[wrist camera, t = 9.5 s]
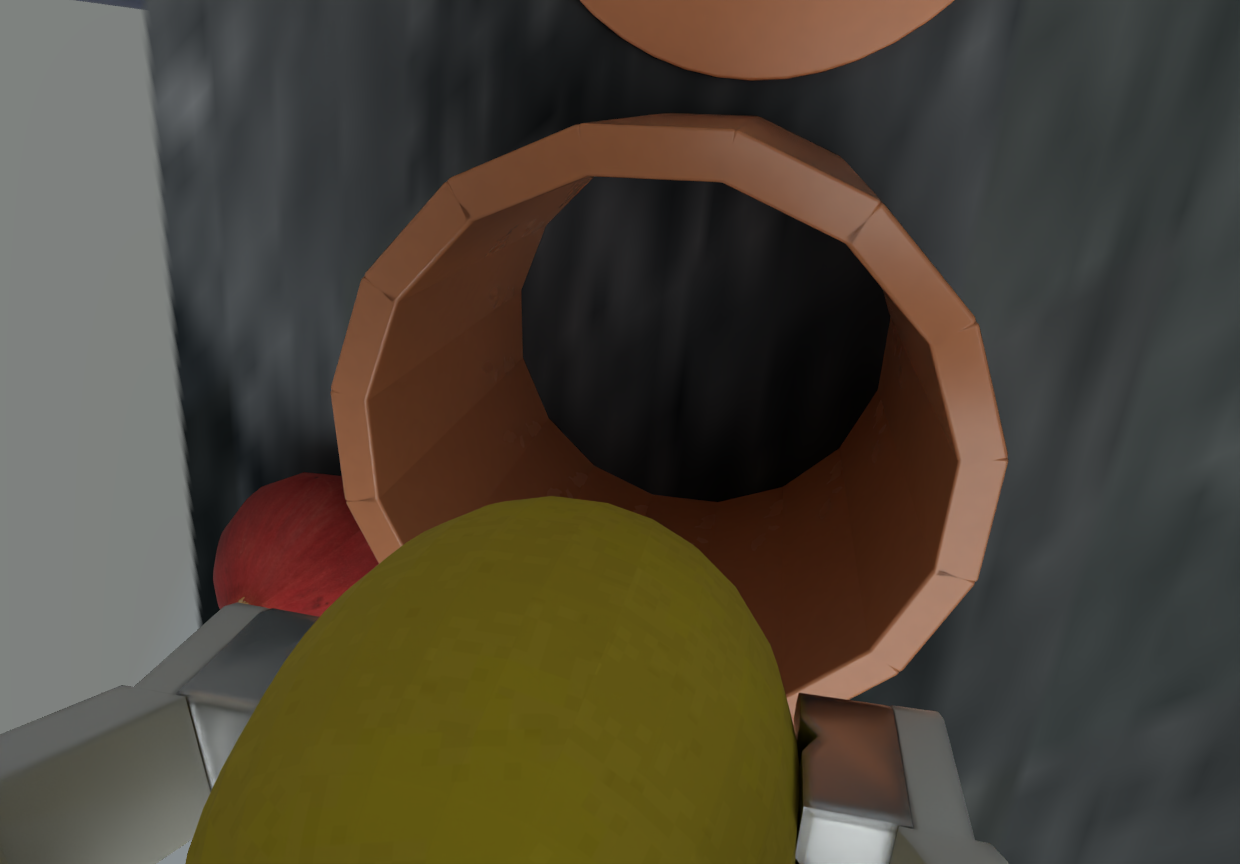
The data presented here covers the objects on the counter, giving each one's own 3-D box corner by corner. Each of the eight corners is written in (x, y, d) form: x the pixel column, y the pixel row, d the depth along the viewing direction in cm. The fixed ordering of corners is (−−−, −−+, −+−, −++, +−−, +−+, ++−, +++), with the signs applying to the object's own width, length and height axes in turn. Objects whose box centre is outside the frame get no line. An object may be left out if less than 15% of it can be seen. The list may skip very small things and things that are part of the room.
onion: (422, 596, 30) (300, 746, 23) (292, 537, 31) (133, 667, 23) (457, 476, 28) (333, 602, 21) (316, 414, 28) (145, 516, 21)
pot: (512, 486, 28) (369, 688, 18) (499, 107, 22) (290, 113, 13) (874, 530, 25) (926, 784, 16) (950, 121, 20) (1091, 141, 11)
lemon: (753, 366, 10) (594, 1024, 3) (839, 707, 12) (877, 1669, 4) (397, 443, 12) (-274, 970, 4) (515, 730, 13) (165, 1447, 6)
